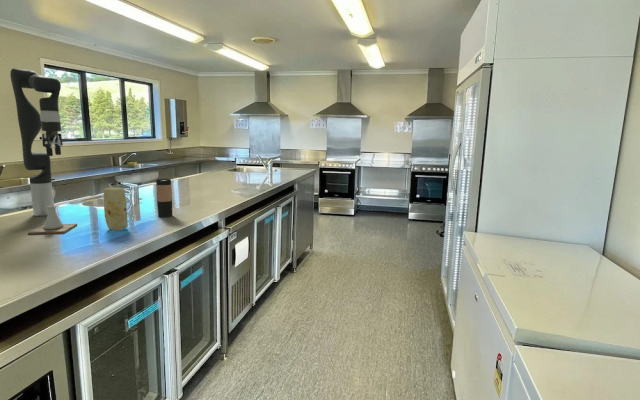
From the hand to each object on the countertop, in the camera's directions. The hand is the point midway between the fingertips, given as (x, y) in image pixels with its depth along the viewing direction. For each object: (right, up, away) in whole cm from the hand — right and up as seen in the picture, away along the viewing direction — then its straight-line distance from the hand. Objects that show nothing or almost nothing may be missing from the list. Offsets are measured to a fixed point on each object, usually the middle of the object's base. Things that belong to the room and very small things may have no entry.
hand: (54, 155), depth 177 cm
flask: (+5, -34, -8) cm, 36 cm away
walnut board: (+5, -35, -8) cm, 36 cm away
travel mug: (+43, -30, +25) cm, 58 cm away
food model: (+32, -35, -4) cm, 48 cm away
